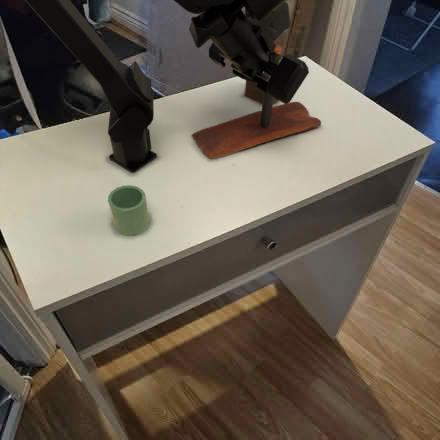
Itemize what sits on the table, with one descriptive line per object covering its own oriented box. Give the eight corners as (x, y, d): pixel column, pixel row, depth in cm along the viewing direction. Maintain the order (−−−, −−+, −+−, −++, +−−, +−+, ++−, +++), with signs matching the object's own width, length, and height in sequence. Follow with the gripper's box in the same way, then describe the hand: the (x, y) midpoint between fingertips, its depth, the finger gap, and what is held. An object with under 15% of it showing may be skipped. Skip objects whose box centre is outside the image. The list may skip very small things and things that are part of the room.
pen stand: (269, 107, 85) (272, 86, 81) (244, 96, 87) (246, 75, 84) (286, 94, 88) (290, 74, 85) (261, 84, 91) (264, 63, 87)
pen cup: (131, 241, 62) (126, 215, 57) (107, 224, 64) (100, 198, 59) (156, 221, 65) (153, 196, 60) (132, 206, 66) (127, 180, 62)
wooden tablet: (296, 104, 86) (298, 96, 85) (323, 128, 81) (325, 120, 80) (186, 134, 79) (186, 126, 77) (209, 162, 74) (209, 154, 72)
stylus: (266, 127, 77) (276, 51, 66) (257, 123, 78) (266, 47, 67) (272, 123, 78) (283, 47, 67) (263, 119, 79) (273, 43, 67)
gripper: (315, 3, 53) (342, 63, 67) (223, -37, 61) (264, 25, 74) (267, 80, 57) (302, 123, 70) (185, 34, 64) (231, 81, 78)
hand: (274, 85), depth 73 cm, fingers closed on stylus, 2 cm apart
